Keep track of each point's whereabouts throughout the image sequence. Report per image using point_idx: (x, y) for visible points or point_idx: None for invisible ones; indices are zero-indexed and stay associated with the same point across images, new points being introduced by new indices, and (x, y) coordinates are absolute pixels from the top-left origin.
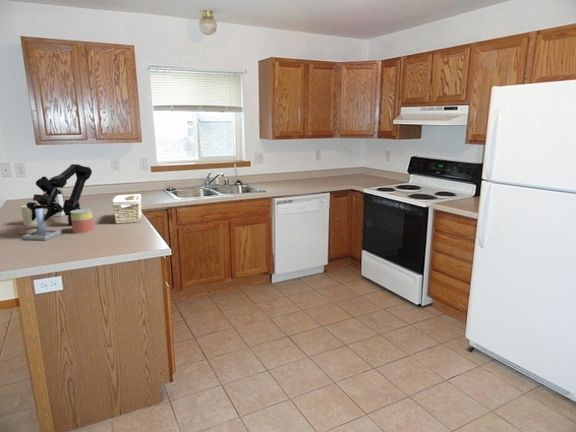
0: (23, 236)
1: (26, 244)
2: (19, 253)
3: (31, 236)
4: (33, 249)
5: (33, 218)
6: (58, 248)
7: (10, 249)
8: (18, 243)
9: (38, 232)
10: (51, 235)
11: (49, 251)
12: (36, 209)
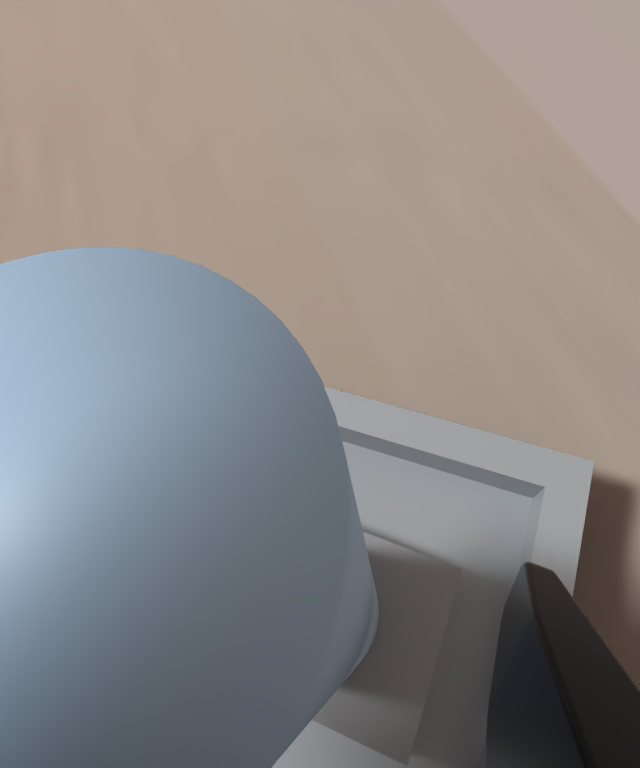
0: (576, 460)
1: (406, 266)
2: (341, 39)
3: (424, 415)
4: (259, 113)
5: (512, 636)
6: (49, 118)
7: (493, 132)
8: (538, 321)
9: (409, 667)
10: None
11: (111, 62)
12: (191, 355)
